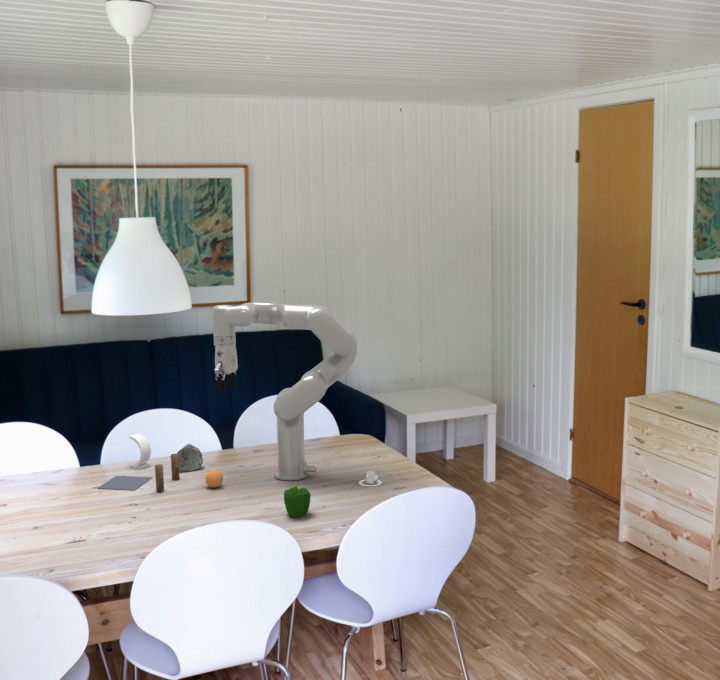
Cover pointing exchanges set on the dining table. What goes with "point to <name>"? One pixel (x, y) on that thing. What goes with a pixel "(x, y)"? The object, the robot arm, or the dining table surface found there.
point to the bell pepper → (297, 501)
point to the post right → (175, 466)
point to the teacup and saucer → (370, 479)
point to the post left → (159, 478)
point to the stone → (189, 458)
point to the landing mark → (125, 483)
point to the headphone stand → (142, 451)
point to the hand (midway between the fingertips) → (226, 388)
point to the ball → (214, 478)
